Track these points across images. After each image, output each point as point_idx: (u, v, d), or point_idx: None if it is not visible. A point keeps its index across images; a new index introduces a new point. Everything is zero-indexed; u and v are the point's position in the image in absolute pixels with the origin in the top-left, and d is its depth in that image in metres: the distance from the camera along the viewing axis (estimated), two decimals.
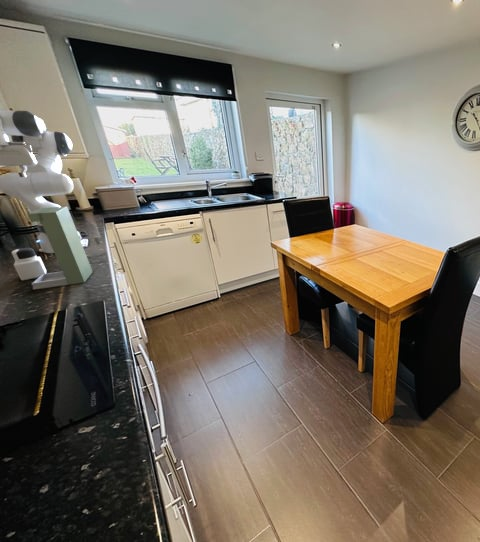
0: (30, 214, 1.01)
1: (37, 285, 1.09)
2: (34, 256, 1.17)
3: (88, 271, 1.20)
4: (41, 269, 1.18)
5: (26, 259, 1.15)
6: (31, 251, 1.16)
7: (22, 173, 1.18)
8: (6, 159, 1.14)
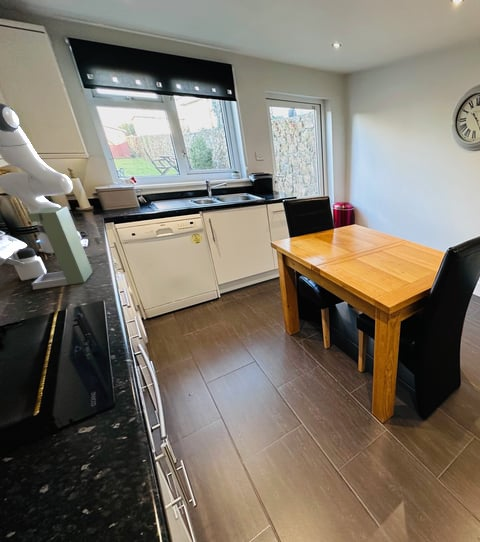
0: (30, 214, 1.01)
1: (37, 285, 1.09)
2: (34, 256, 1.17)
3: (88, 271, 1.20)
4: (41, 269, 1.18)
5: (26, 259, 1.15)
6: (31, 251, 1.16)
7: None
8: None
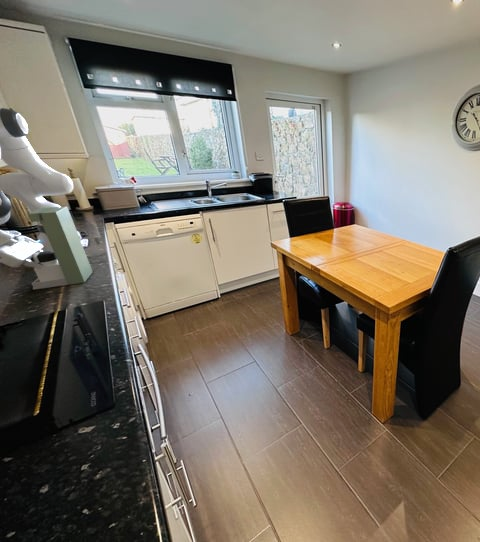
0: (30, 214, 1.01)
1: (37, 285, 1.09)
2: (55, 259, 1.12)
3: (88, 271, 1.20)
4: (61, 273, 1.13)
5: (47, 263, 1.10)
6: (52, 254, 1.11)
7: None
8: None
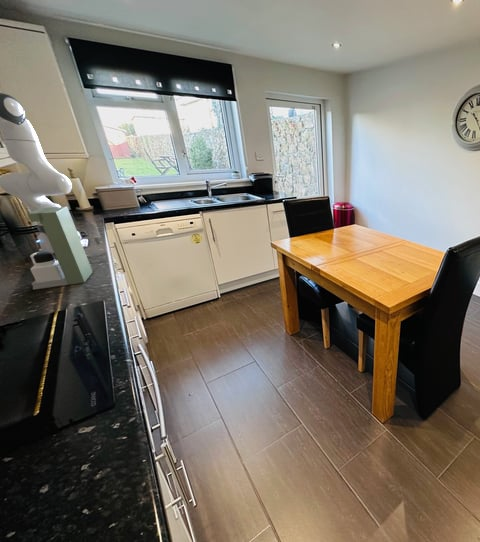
0: (30, 214, 1.01)
1: (37, 285, 1.09)
2: (52, 260, 1.11)
3: (88, 271, 1.20)
4: (57, 274, 1.12)
5: (43, 263, 1.09)
6: (49, 255, 1.10)
7: None
8: None
